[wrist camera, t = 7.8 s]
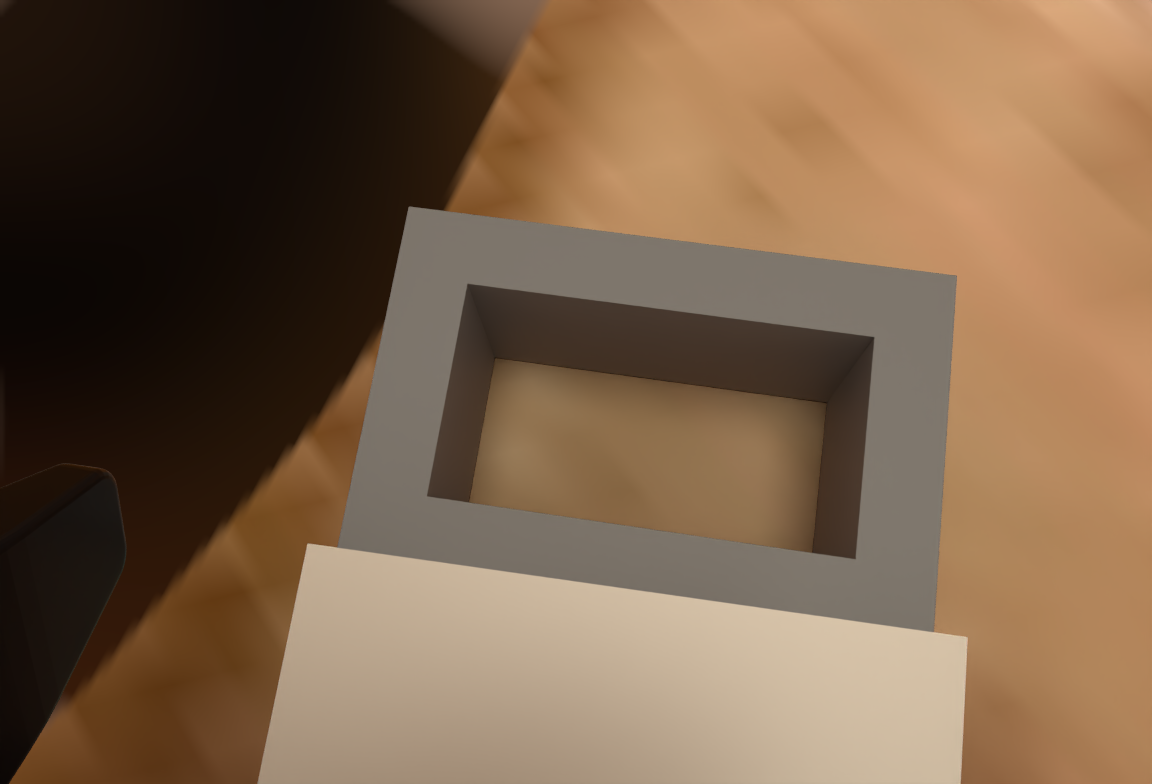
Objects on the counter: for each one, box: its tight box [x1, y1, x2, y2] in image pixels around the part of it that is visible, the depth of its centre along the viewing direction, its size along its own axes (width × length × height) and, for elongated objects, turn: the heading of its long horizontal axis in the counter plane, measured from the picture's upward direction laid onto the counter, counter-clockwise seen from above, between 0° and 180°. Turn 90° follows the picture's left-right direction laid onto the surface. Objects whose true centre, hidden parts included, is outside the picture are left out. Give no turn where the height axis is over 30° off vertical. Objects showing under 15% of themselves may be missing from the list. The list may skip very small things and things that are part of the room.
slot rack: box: [337, 207, 957, 632], centre depth 17 cm, size 15×9×4 cm, turn 171°
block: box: [257, 544, 968, 784], centre depth 14 cm, size 2×5×12 cm, turn 82°
